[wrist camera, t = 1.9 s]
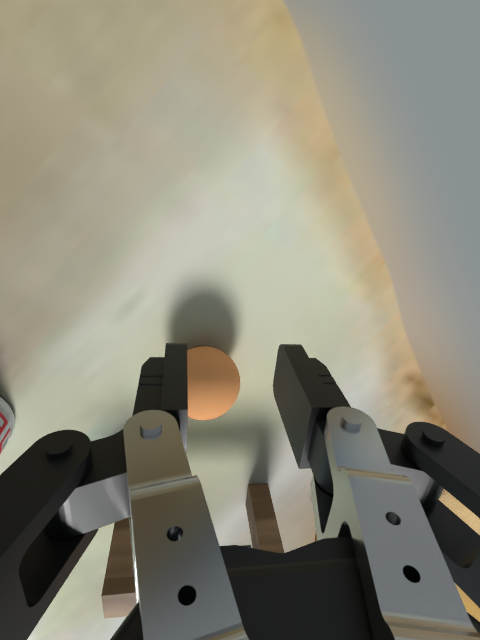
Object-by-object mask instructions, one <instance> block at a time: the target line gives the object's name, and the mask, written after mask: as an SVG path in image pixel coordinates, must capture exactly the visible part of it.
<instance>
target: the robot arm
mask: <svg viewBox="0 0 480 640" xmlns="http://www.w3.org/2000/svg"><path fill="white" fill-rule="evenodd" d="M273 391H274V397H275V400H276V403H277V406H278V409H279V412H280V415H281V418H282V421H283V424H284V427H285V430H286V432H287V435H288V438H289V441H290V444H291V447H292V450H293V453H294V456H295V459H296V462H297V465H298V467H299V469H303V468H311V469H312V472H313V477H312V481H311V493H312V501H313V510H314V518H315V526H316V534H317V541H316V542H313V543H311V544H308V545H305V546H303V547H300V548H297V549H295V550H292V551H290V552H287V553H276V552H271V551H265V550H260V549H254V548H249V547H243V546H238V545H231V546H219V543H218V540H217V537H216V533H215V530H214V527H213V523H212V520H211V517H210V513H209V510H208V506H207V503H206V500H205V496H204V493H203V490H202V486H201V483H200V480H199V478H198V476H196V475H195V476H192V474H191V470H190V467H189V463H188V460H187V456H186V454H187V422H188V376H187V343H166V349H165V357H150V358H149V359H148V360H147V361H146V362H145V363H144V364H143V365H142V368H141V374H140V379H139V386H138V390H137V395H136V400H135V406H134V411H133V416H132V417H131V418H129V419H128V420H127V422H126V423H125V425H124V428H123V430H121V431H120V432H118V433H116V434H114V435H112V436H109V437H106V438H102V439H99V440H95V441H91V442H90V439H89V438H88V436H87V435H85V434H84V433H82V432H79V431H76V430H61V431H57V432H53V433H50V434H48V435H46V436H44V437H42V438H40V439H39V440H38V441H36V442H35V443H34V444H33V445H32V446H31V447H30V448H29V449H28V450H26V451H25V452H24V453H23V454H22V455H21V456H20V457H19V458H18V459H17V460H16V461H15V462H14V463H13V464H12V465H10V466H9V467H8V468H7V469H6V470H5V471H4V472H3V473H2V474H1V475H0V640H27V639H28V637H29V636H30V634H31V633H32V631H33V630H34V628H35V626H36V625H37V623H38V622H39V620H40V619H41V617H42V616H43V614H44V613H45V611H46V610H47V608H48V607H49V605H50V604H51V602H52V600H53V599H54V597H55V596H56V594H57V593H58V591H59V590H60V588H61V587H62V585H63V584H64V582H65V581H66V579H67V578H68V576H69V574H70V573H71V571H72V570H73V568H74V567H75V565H76V564H77V562H78V561H79V559H80V558H81V556H82V555H83V553H84V552H85V550H86V548H87V547H88V545H89V544H90V542H91V541H92V539H93V538H94V536H95V535H96V533H97V531H98V528H101V527H103V526H106V525H109V524H112V523H114V522H117V521H120V520H123V519H125V518H128V517H129V522H130V533H131V545H132V556H133V568H134V580H135V593H136V605H135V606H134V608H133V609H132V610H131V612H130V613H129V614H128V616H127V617H126V619H125V620H124V621H123V623H122V624H121V625H120V627H119V628H118V630H117V631H116V632H115V634H114V635H113V636H112V638H111V639H110V640H480V622H479V621H477V620H476V619H475V618H474V617H473V616H471V615H470V614H469V613H468V612H466V609H465V607H464V604H463V602H462V600H461V597H460V595H459V593H458V590H457V588H456V586H455V583H456V584H457V585H458V586H459V587H460V588H461V589H462V590H463V591H464V592H465V593H466V594H467V595H468V596H469V598H470V599H471V600H472V601H473V602H474V603H475V604H476V605H477V606H478V607H479V608H480V535H478V534H477V533H476V532H475V531H474V530H473V529H472V528H470V527H469V526H468V525H467V524H466V523H465V522H463V521H462V520H461V519H460V518H459V517H458V516H457V515H455V514H454V513H453V512H452V511H451V510H450V509H448V508H447V507H446V506H445V505H444V504H443V503H442V502H440V501H439V500H438V499H439V497H440V495H441V493H442V491H443V488H444V489H445V490H447V491H448V492H449V493H450V494H451V495H453V496H454V497H455V498H456V499H457V500H459V501H460V502H461V503H462V504H463V505H465V506H466V507H467V508H468V509H469V510H471V511H472V512H473V513H474V514H475V515H477V516H478V517H479V518H480V454H479V453H478V452H476V451H474V450H473V449H472V448H470V447H469V446H467V445H466V444H465V443H463V442H462V441H460V440H459V439H457V438H456V437H454V436H453V435H451V434H450V433H449V432H447V431H446V430H444V429H443V428H441V427H439V426H436V425H434V424H430V423H426V422H414V423H411V424H409V425H408V426H407V428H406V431H405V434H401V433H396V432H391V431H386V430H382V429H378V428H377V427H376V425H375V423H374V421H373V420H372V419H371V418H370V417H369V416H368V415H367V414H365V413H364V412H362V411H360V410H358V409H355V408H351V406H350V405H349V403H348V401H347V400H346V398H345V397H344V395H343V393H342V392H341V390H340V388H339V387H338V385H337V384H336V382H335V380H334V379H333V377H331V374H330V372H329V370H328V369H327V367H326V366H325V365H324V364H322V363H321V362H320V361H319V360H317V359H316V358H309V357H308V355H307V354H306V352H305V350H304V348H303V347H302V345H296V344H281V345H280V346H279V349H278V354H277V361H276V368H275V375H274V382H273ZM454 582H455V583H454Z"/></svg>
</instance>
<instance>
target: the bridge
mask: <svg viewBox="0 0 480 640" xmlns="http://www.w3.org/2000/svg"><path fill="white" fill-rule="evenodd" d="M246 509H247V515H248V521H249V528H250V534H251V540H252V546H253V548H254V549H260V550H265V551H271V552H276V553H284V550H283V546H282V541H281V537H280V533H279V529H278V525H277V520H276V516H275V512H274V508H273V504H272V499H271V495H270V491H269V487H268V484H250V485H248V492H247V499H246ZM102 603H103V611H104V618H113V617H122V616H128V614H129V613H130V612H131V610H132V609H133V608H134V606H135V605H136V593H135V580H134V568H133V556H132V545H131V533H130V522H129V517H128V518H125V519H123V520H120V521H117V522H115V524H114V530H113V535H112V541H111V546H110V552H109V557H108V563H107V568H106V574H105V579H104V585H103V591H102Z"/></svg>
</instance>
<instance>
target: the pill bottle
mask: <svg viewBox="0 0 480 640" xmlns="http://www.w3.org/2000/svg"><path fill="white" fill-rule="evenodd" d="M14 427H15V417H14V414H13V411H12V409H11V408H10V406H9V405H8V404H7V403H6V402H5V401H4V400H3V399H2V398H1V397H0V454H1V452H2V451H3V449H4V447H5V445H6V444H7V442H8V440H9V438H10V437H11V435H12V433H13V430H14Z"/></svg>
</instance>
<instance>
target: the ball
mask: <svg viewBox="0 0 480 640" xmlns="http://www.w3.org/2000/svg"><path fill="white" fill-rule="evenodd" d="M187 376H188V417H189V418H192V419H196V420H209V419H214V418H216V417H219V416H221V415H222V414H224V413H225V412H226V411H228V410H229V409H230V408H231V407H232V405H233V404H234V402H235V401H236V399H237V396H238V393H239V389H240V376H239V372H238V369H237V367H236V365H235V363H234V362H233V360H232V359H231V358H230V357H229V356H228V355H227V354H226V353H224V352H223V351H221V350H219V349H216V348H213V347H207V346H201V347H195V348H192V349H189V350H187Z"/></svg>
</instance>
